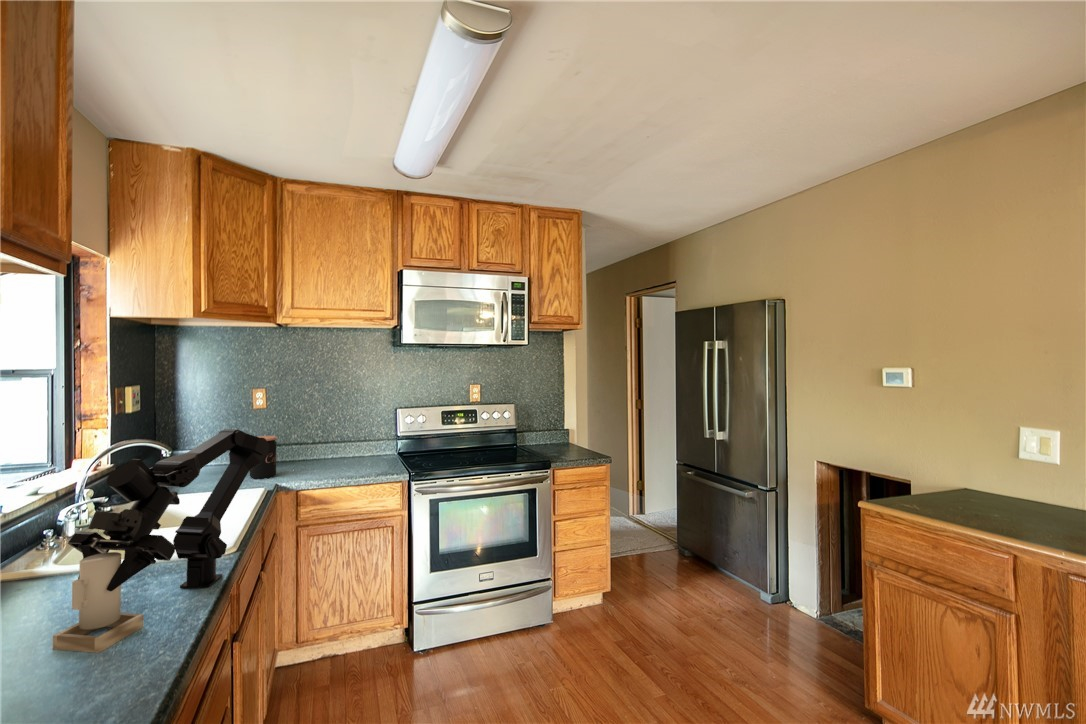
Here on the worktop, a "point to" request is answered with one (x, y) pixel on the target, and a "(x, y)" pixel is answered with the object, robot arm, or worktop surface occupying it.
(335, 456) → the worktop surface
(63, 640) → the holder
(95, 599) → the jug
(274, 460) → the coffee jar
